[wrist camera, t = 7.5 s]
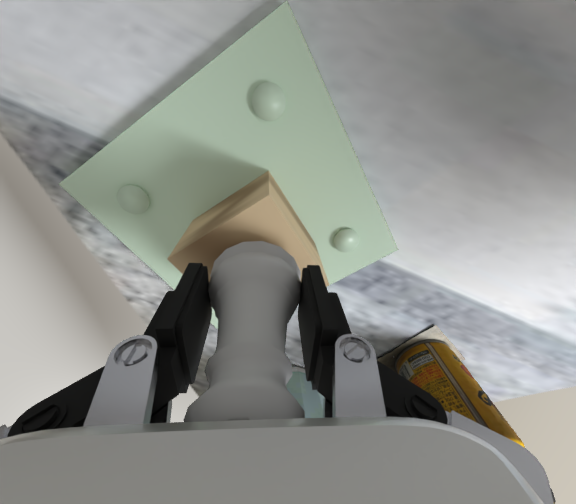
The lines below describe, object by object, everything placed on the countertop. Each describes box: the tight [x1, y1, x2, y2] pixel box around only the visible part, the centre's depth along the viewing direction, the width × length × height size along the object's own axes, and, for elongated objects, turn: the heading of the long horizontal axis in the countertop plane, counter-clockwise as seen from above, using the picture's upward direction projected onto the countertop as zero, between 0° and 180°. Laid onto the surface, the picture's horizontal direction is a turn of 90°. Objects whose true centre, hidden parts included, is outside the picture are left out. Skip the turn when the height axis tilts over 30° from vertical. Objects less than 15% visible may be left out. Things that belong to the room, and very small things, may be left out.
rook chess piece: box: [184, 241, 305, 422], centre depth 10 cm, size 4×4×8 cm
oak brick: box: [167, 171, 329, 286], centre depth 16 cm, size 6×6×5 cm
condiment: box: [377, 325, 555, 504], centre depth 22 cm, size 7×8×12 cm
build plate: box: [59, 0, 398, 329], centre depth 17 cm, size 16×16×1 cm
